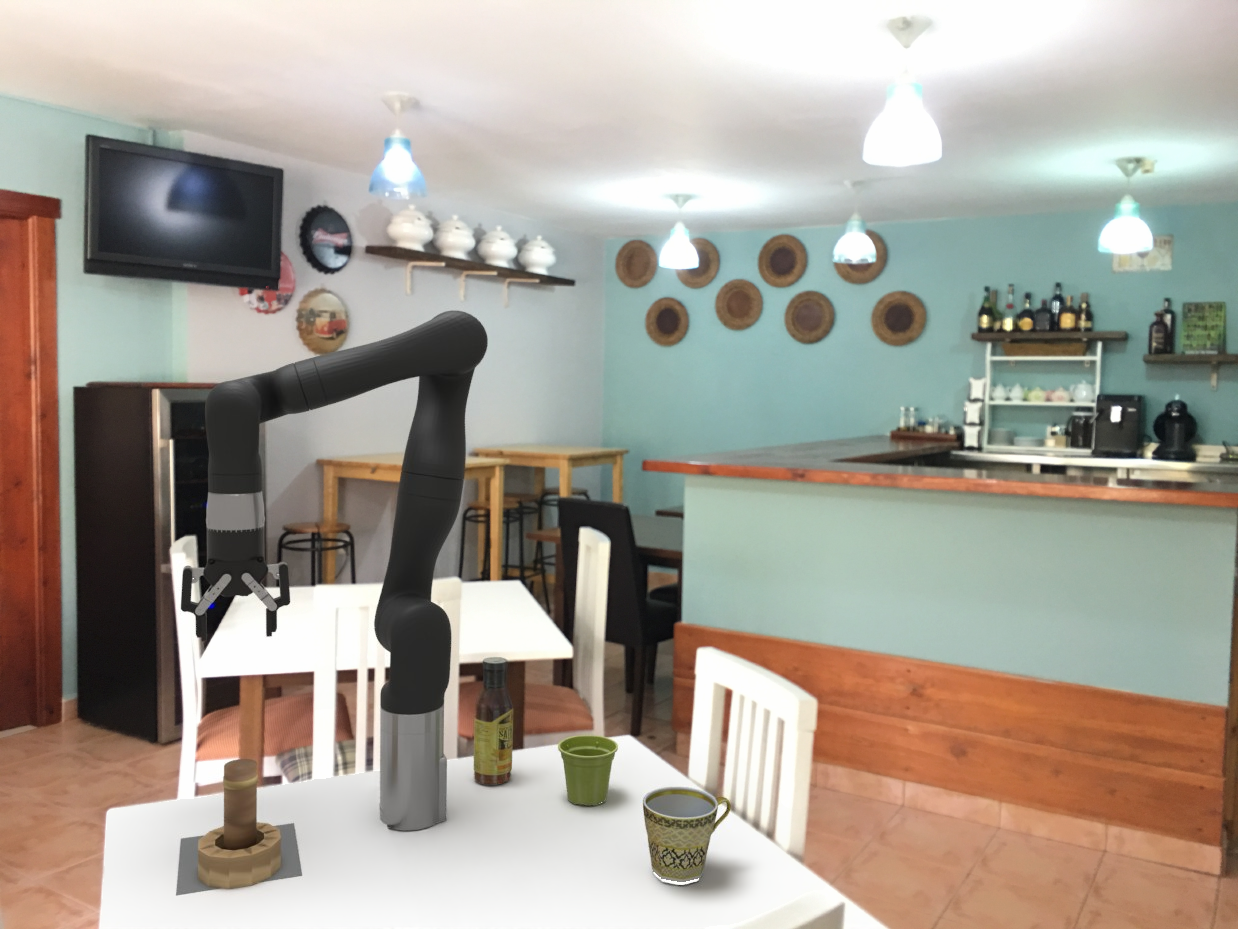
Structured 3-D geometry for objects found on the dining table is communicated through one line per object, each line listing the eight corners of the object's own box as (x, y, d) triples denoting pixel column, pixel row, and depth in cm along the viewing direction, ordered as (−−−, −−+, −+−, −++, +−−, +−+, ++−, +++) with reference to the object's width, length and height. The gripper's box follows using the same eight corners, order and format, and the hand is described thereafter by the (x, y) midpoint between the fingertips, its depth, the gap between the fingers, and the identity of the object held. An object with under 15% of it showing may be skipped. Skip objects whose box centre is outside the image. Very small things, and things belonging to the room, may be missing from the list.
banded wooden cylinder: (256, 858, 133) (257, 757, 132) (257, 873, 129) (258, 768, 128) (222, 863, 131) (223, 760, 130) (222, 878, 127) (223, 772, 126)
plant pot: (545, 795, 156) (546, 741, 156) (594, 782, 162) (595, 730, 161) (578, 817, 149) (580, 761, 148) (628, 802, 154) (630, 748, 154)
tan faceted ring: (278, 845, 136) (278, 817, 136) (282, 880, 127) (282, 850, 127) (199, 857, 133) (199, 828, 132) (197, 893, 123) (197, 863, 123)
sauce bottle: (504, 789, 158) (506, 667, 156) (467, 785, 159) (469, 664, 158) (517, 773, 165) (519, 656, 163) (481, 769, 166) (483, 653, 164)
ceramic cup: (664, 899, 126) (666, 824, 125) (627, 864, 135) (629, 793, 134) (748, 878, 132) (751, 805, 131) (708, 846, 141) (710, 778, 140)
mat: (294, 826, 143) (293, 823, 143) (302, 879, 129) (302, 875, 129) (180, 842, 138) (180, 838, 138) (176, 899, 123) (175, 895, 123)
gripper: (287, 518, 144) (288, 627, 146) (180, 521, 139) (182, 635, 140) (291, 526, 137) (291, 640, 139) (178, 529, 132) (180, 649, 133)
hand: (236, 637), depth 139 cm, fingers open, 8 cm apart
